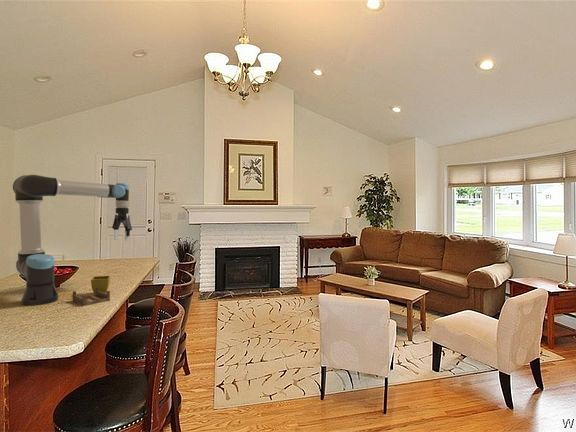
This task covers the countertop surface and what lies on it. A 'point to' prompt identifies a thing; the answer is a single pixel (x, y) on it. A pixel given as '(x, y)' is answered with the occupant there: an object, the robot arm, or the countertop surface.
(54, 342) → the countertop surface
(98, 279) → the flower pot
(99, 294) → the rack
